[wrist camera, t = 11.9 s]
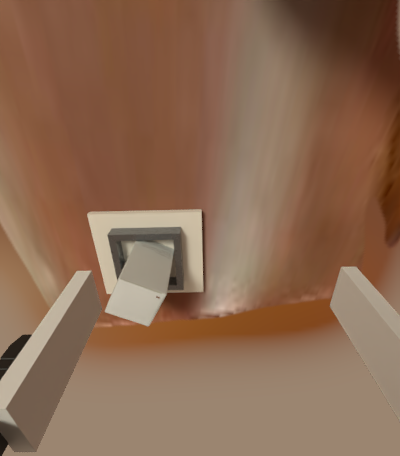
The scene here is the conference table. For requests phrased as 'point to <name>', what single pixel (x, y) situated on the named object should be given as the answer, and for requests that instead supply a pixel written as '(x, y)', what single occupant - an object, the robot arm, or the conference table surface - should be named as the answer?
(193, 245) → the base plate
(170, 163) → the conference table surface
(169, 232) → the collar
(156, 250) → the supplement box
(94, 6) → the conference table surface
